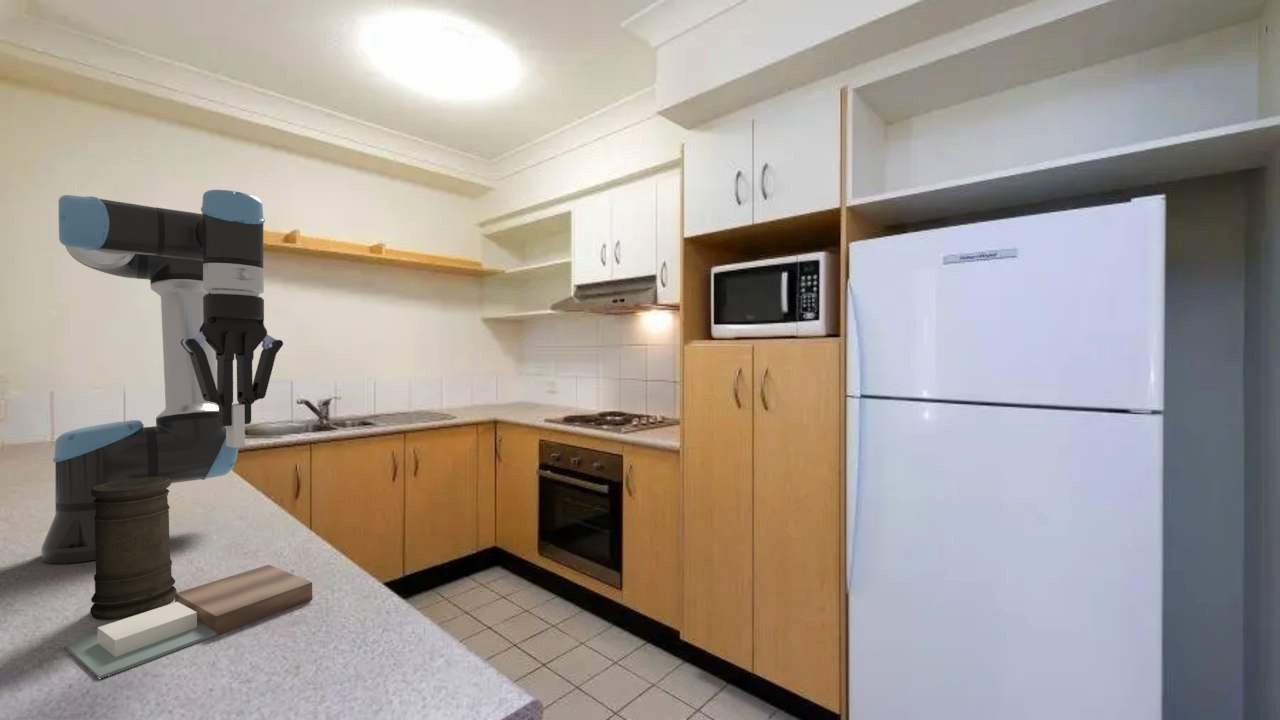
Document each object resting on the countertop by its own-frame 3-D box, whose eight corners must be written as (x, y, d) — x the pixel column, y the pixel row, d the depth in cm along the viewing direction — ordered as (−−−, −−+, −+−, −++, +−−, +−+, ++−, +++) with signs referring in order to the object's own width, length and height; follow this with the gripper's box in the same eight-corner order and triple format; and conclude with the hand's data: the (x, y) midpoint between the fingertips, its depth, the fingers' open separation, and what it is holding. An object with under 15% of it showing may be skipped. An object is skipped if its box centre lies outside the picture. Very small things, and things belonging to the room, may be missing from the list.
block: (97, 643, 67) (97, 627, 67) (177, 616, 74) (177, 601, 74) (115, 656, 64) (115, 640, 64) (197, 627, 71) (196, 612, 71)
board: (175, 610, 76) (174, 593, 76) (268, 580, 87) (268, 564, 87) (216, 635, 70) (216, 616, 70) (312, 598, 80) (312, 582, 80)
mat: (64, 647, 67) (64, 644, 67) (175, 610, 76) (175, 607, 76) (99, 679, 60) (99, 676, 60) (216, 635, 70) (216, 632, 70)
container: (190, 596, 81) (188, 477, 80) (115, 625, 72) (113, 492, 72) (151, 588, 84) (149, 473, 83) (75, 615, 75) (73, 487, 75)
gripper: (191, 289, 75) (192, 456, 76) (291, 296, 86) (292, 442, 87) (171, 291, 79) (173, 449, 80) (270, 298, 90) (271, 437, 91)
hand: (235, 445), depth 84 cm, fingers closed
